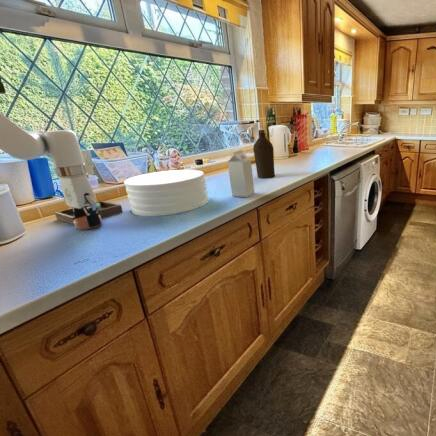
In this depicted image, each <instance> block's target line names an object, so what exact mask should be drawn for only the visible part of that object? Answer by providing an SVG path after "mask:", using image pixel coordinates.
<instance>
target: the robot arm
mask: <svg viewBox="0 0 436 436" xmlns="http://www.w3.org/2000/svg"><path fill="white" fill-rule="evenodd" d="M0 150H1V151H3V153H5V154H7V155H9V156H11V157H13V158H16V159H18V160H22V161H30V160H34V159H38V158H39V157H42V156H47V155H49V156H50V159H51V161H52V164H53V167H54V170H55V173H56V176H57V178H58V179H59V183H60V188H61V191H62V195H63V199H64V202H65V204H66V205H67V206H68V207H70V208H72V210H73V213H74V216H75V218H79V217H83V216H86V219H87V222H88V225H89V227H94V226H97V225H99V226H101V224H102V223H101V222H100V219H99V216H98V211H97V204H96V202H97V201H96V197H95V193H94V191H93V188H92V186H91V183H90V181H89V180H90V179H89V178H88V175H89V172H88V169H87V166H86V163H85V159H84V155H83V153H82V150H81V146H80V143H79V139H78V136H77V134H76V132H75V131H73V130H71V129H57V130H55V129H54V130H46V131H38V130H26V129H23V128H22V127H21V126H20V125H18V124H17V123H15V122H14V121H12V120H11V119H10V118H9V117H7V116H6V115H5V114H3V113H2V112H1V111H0ZM86 204H89V205H86ZM85 205H86V206H85ZM87 208H89V211H88V209H87ZM83 209H84V210H83Z"/></svg>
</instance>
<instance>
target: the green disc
mask: <svg viewBox="0 0 436 436" xmlns="http://www.w3.org/2000/svg"><path fill="white" fill-rule="evenodd" d="M96 204H97V211H98V210H102V208H101V205H100V203H96ZM86 205H89V204H86ZM86 205H85V206H86ZM87 209H88V211H89V208H87ZM83 210H84V209H83Z"/></svg>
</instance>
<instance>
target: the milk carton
mask: <svg viewBox="0 0 436 436" xmlns="http://www.w3.org/2000/svg"><path fill="white" fill-rule="evenodd" d="M232 153H233V155H232V156H231V157H230V158H229V159H228V161H227V169H228V175H229V183H230V189H231V196H232V197H237V198H248V197H251V196H253V194H255V184H254V176H253V167H252V159H251V158H250V157H249V156H247V155H246V154H245V153H244V152H243V149H240V150H237V151H233V152H232Z"/></svg>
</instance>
